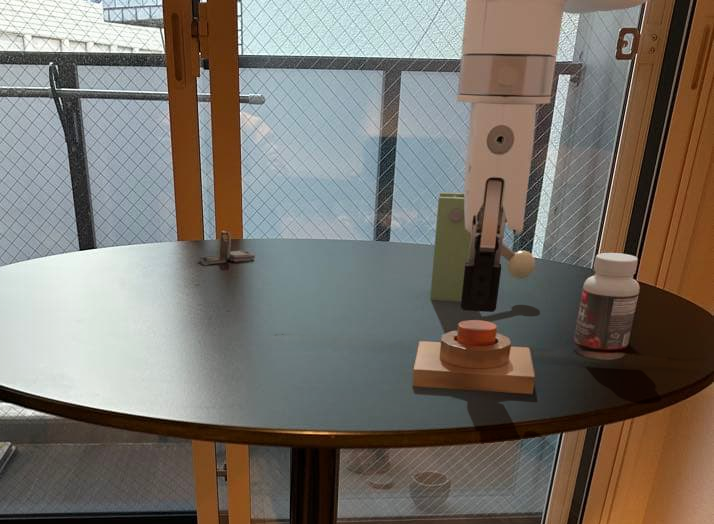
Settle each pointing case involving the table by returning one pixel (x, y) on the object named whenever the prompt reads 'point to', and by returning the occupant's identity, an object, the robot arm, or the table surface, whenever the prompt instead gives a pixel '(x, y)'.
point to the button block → (474, 366)
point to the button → (476, 333)
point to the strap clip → (227, 253)
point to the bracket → (450, 248)
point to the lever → (518, 261)
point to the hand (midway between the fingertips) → (477, 308)
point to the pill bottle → (607, 306)
